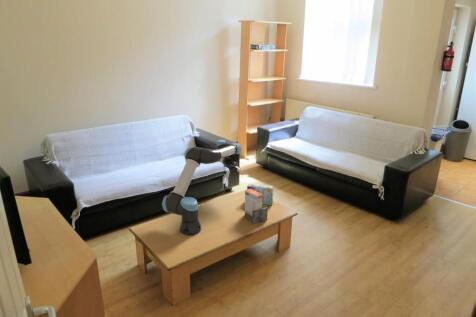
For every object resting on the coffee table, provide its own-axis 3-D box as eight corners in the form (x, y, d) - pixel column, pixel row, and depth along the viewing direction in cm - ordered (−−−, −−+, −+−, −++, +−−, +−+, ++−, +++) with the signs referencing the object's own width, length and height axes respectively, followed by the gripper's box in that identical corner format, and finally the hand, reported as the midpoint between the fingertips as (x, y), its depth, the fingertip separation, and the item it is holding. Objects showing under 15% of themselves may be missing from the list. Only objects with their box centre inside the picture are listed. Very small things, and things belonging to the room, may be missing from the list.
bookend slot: (253, 223, 256) (253, 211, 252) (244, 216, 266) (244, 204, 263) (267, 219, 261) (267, 207, 258) (258, 212, 272) (258, 201, 268)
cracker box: (262, 219, 262) (263, 194, 255) (256, 221, 258) (256, 196, 251) (250, 212, 272) (250, 188, 265) (244, 214, 269) (244, 190, 262)
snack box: (272, 202, 288) (273, 186, 283) (271, 205, 283) (272, 188, 278) (248, 199, 293) (248, 183, 288) (246, 202, 288) (246, 185, 283)
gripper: (233, 164, 299) (246, 173, 279) (219, 166, 293) (232, 176, 273) (233, 155, 296) (246, 164, 277) (219, 158, 290) (232, 167, 271)
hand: (239, 170), depth 275 cm, fingers closed
